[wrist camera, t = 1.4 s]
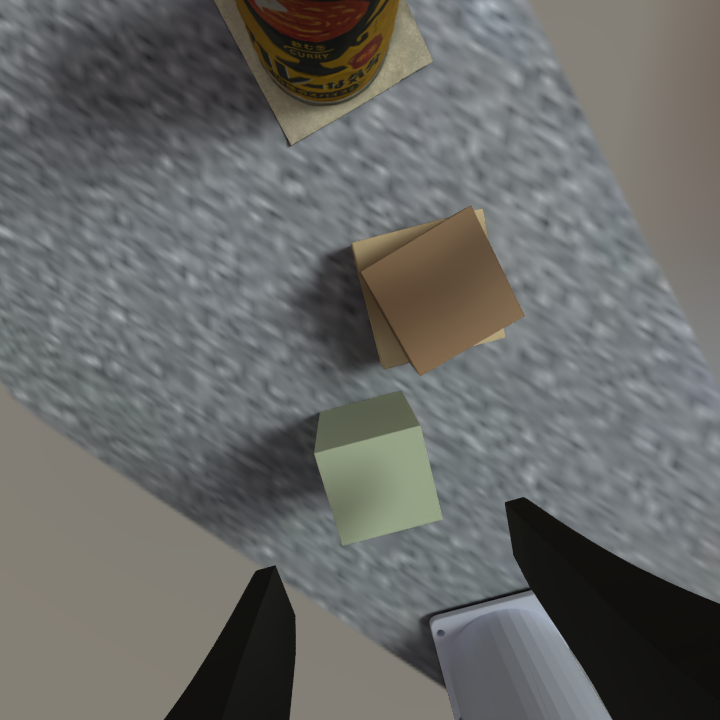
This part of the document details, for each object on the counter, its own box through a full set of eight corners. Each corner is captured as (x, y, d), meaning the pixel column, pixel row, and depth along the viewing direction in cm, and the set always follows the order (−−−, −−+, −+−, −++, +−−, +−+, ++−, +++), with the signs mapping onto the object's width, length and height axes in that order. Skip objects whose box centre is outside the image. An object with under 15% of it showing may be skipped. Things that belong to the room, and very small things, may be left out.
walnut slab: (503, 311, 18) (524, 315, 16) (411, 364, 19) (420, 376, 17) (454, 213, 17) (471, 205, 15) (358, 272, 18) (360, 271, 16)
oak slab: (488, 330, 21) (505, 337, 19) (379, 359, 21) (384, 369, 19) (466, 215, 20) (482, 208, 17) (350, 246, 20) (352, 242, 17)
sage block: (419, 464, 22) (442, 519, 17) (341, 485, 22) (342, 545, 17) (401, 390, 21) (420, 425, 16) (319, 411, 21) (314, 453, 16)
